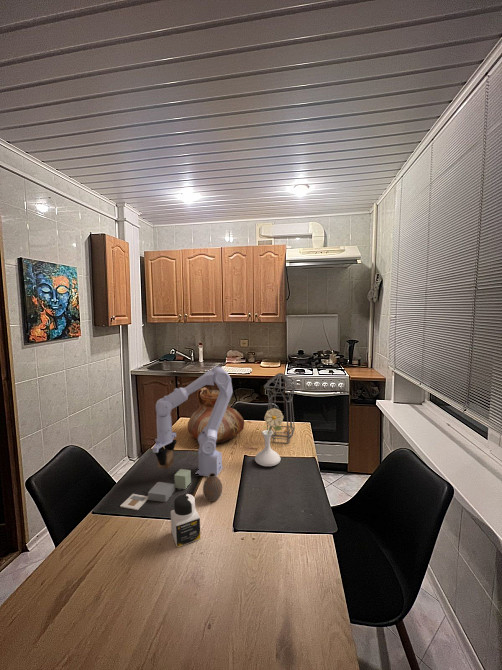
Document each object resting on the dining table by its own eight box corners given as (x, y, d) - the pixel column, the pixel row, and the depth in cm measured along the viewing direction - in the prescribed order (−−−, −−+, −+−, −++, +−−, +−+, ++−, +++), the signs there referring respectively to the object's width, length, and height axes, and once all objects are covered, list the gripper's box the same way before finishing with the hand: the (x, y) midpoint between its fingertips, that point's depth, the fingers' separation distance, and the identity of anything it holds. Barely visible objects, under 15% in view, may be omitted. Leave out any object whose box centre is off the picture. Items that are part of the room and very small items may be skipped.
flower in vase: (251, 466, 130) (250, 410, 128) (260, 454, 141) (259, 402, 138) (280, 472, 125) (279, 413, 123) (287, 459, 136) (287, 405, 133)
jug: (250, 427, 172) (249, 384, 170) (235, 452, 143) (234, 401, 141) (201, 423, 179) (199, 382, 176) (177, 446, 150) (175, 397, 147)
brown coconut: (225, 494, 111) (225, 472, 110) (216, 506, 104) (215, 482, 104) (209, 490, 114) (209, 468, 113) (199, 500, 107) (198, 477, 107)
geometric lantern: (264, 445, 150) (262, 375, 148) (269, 432, 165) (267, 370, 163) (295, 447, 147) (294, 376, 144) (298, 434, 162) (297, 370, 160)
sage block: (191, 483, 118) (190, 470, 118) (185, 490, 114) (185, 476, 113) (180, 482, 119) (180, 468, 119) (175, 488, 115) (174, 475, 114)
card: (149, 497, 110) (149, 496, 110) (137, 510, 103) (137, 508, 103) (133, 494, 111) (132, 493, 111) (120, 506, 105) (120, 505, 105)
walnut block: (173, 463, 123) (173, 450, 122) (167, 469, 118) (167, 455, 118) (163, 461, 124) (163, 449, 123) (157, 467, 120) (157, 454, 119)
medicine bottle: (176, 548, 86) (175, 509, 85) (171, 532, 92) (169, 495, 91) (200, 539, 89) (199, 501, 88) (193, 524, 96) (192, 488, 95)
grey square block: (175, 491, 114) (174, 483, 113) (165, 503, 107) (165, 495, 107) (158, 489, 115) (157, 481, 115) (148, 500, 108) (147, 492, 108)
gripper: (165, 421, 128) (166, 452, 129) (144, 435, 114) (146, 469, 115) (180, 422, 126) (181, 453, 127) (161, 437, 112) (162, 472, 113)
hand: (165, 461), depth 121 cm, fingers closed on walnut block, 4 cm apart
